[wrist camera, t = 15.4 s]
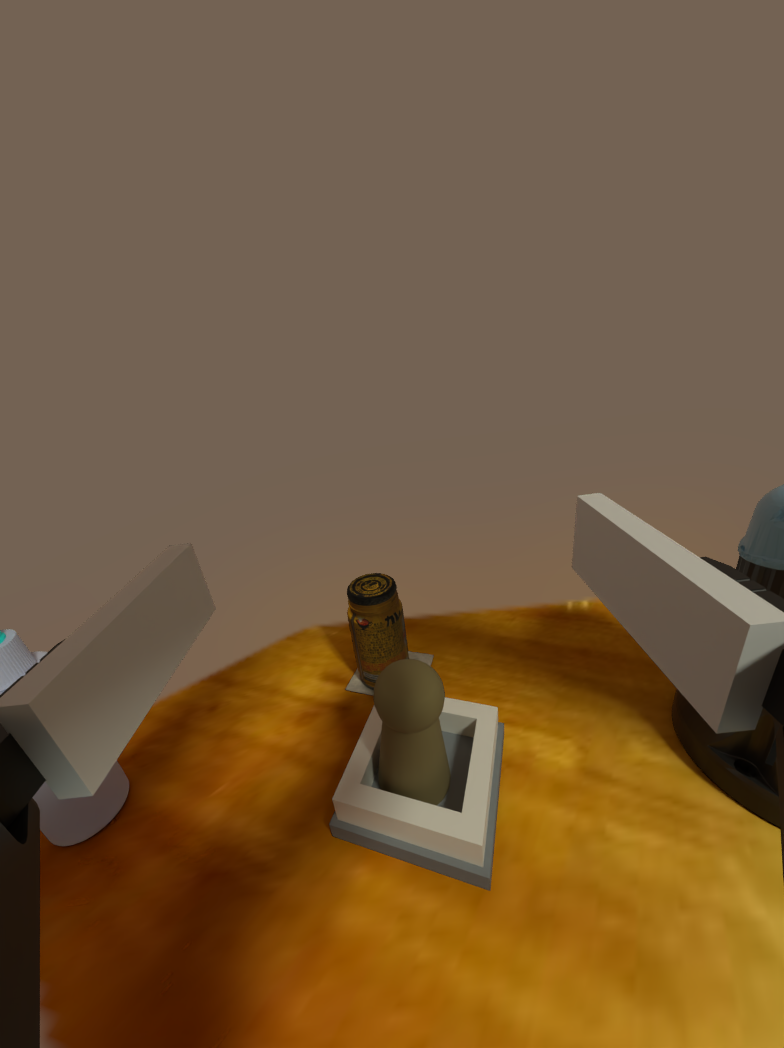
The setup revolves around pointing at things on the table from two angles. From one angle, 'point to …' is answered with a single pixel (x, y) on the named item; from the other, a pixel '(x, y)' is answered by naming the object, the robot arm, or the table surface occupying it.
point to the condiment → (376, 629)
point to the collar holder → (421, 828)
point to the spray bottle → (60, 819)
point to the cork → (412, 732)
